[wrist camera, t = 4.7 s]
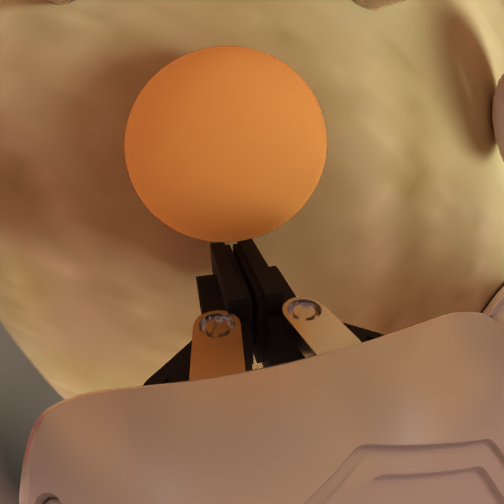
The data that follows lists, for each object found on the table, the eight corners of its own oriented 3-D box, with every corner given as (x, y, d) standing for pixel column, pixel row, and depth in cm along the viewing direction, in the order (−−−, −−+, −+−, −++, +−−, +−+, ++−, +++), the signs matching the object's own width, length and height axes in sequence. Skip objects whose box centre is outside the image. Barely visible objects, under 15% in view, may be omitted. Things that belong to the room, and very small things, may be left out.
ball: (396, 185, 5) (312, 7, 6) (90, 237, 5) (104, 31, 6) (315, 240, 11) (281, 111, 12) (160, 268, 11) (146, 132, 11)
